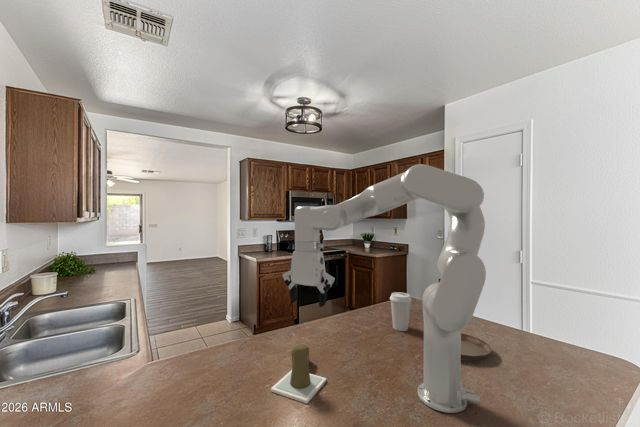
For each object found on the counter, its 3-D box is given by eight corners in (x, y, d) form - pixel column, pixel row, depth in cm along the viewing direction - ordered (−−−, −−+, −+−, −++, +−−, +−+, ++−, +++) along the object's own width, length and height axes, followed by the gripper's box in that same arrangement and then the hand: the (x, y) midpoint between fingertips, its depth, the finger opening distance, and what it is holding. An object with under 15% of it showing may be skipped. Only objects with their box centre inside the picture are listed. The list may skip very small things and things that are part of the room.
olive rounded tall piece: (307, 390, 82) (308, 351, 82) (287, 387, 83) (287, 349, 83) (312, 378, 88) (312, 342, 88) (293, 375, 89) (293, 340, 89)
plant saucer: (450, 334, 123) (450, 327, 123) (502, 354, 106) (502, 345, 106) (418, 346, 112) (418, 338, 112) (471, 371, 95) (471, 361, 95)
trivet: (326, 380, 88) (326, 377, 88) (307, 403, 78) (307, 400, 78) (292, 371, 94) (292, 368, 94) (270, 391, 83) (270, 388, 83)
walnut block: (309, 361, 100) (309, 346, 100) (306, 368, 95) (306, 353, 95) (294, 360, 101) (294, 345, 101) (292, 367, 96) (292, 352, 96)
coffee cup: (414, 332, 125) (414, 297, 125) (392, 332, 125) (392, 297, 125) (408, 324, 134) (408, 291, 134) (387, 324, 134) (387, 291, 134)
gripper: (338, 246, 87) (339, 303, 87) (289, 244, 95) (289, 297, 95) (328, 249, 81) (329, 311, 80) (276, 247, 88) (276, 303, 88)
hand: (307, 303), depth 88 cm, fingers open, 9 cm apart
